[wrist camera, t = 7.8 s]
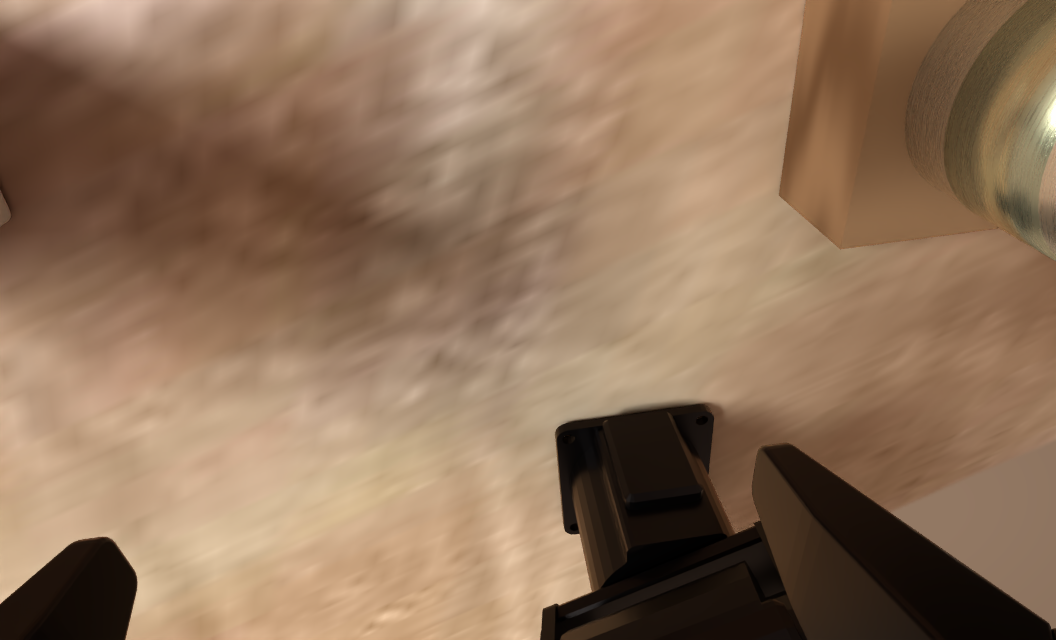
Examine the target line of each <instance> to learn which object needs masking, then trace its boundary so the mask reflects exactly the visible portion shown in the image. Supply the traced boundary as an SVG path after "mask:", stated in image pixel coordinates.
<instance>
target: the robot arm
mask: <svg viewBox="0 0 1056 640" xmlns="http://www.w3.org/2000/svg"><path fill="white" fill-rule="evenodd" d="M700 416H703V417H702V418H699V419H697V418H698V417H700ZM713 423H714V417H713V414H712V412H711V410H710V408H709V407H708V406H705V405H695V406H688V407H681V408H673V409H666V410H659V411H652V412H645V413H638V414H631V415H623V416H616V417H609V418H602V419H595V420H588V421H581V422H574V423H566V424H563V425H561V426H559V427H558V428H557V430H556V432H555V439H556V450H557V461H558V472H559V483H560V494H561V505H562V516H563V524H564V529H565V531H566V532H567V533H569V534H580V537H581V542H582V547H583V551H584V556H585V561H586V566H587V571H588V575H589V580H590V585H591V590H592V592H591V593H588V594H586V595H583V596H581V597H578V598H576V599H573V600H571V601H568V602H566V603H563V604H561V605H558V604H554V605H552V606H549V607H547V608H544V609H543V613H542V630H541V637H540V640H1056V628H1054V629H1051V626H1050V624H1049V623H1048V622H1047V621H1045V620H1044V619H1042V618H1041V617H1039V616H1038V615H1037V614H1035V613H1034V612H1032V611H1031V610H1029V609H1028V608H1026V607H1025V606H1023V605H1022V604H1021V603H1019V602H1018V601H1016V600H1015V599H1013V598H1012V597H1011V596H1009V595H1008V594H1006V593H1005V592H1003V591H1002V590H1001V589H999V588H998V587H996V586H995V585H993V584H992V583H991V582H989V581H988V580H986V579H985V578H983V577H982V576H980V575H979V574H978V573H976V572H975V571H973V570H972V569H970V568H969V567H968V566H966V565H965V564H963V563H962V562H960V561H959V560H957V559H956V558H954V557H953V556H952V555H950V554H949V553H947V552H946V551H944V550H943V549H942V548H940V547H939V546H937V545H936V544H934V543H933V542H932V541H930V540H929V539H927V538H926V537H924V536H923V535H922V534H920V533H919V532H917V531H916V530H914V529H913V528H911V527H910V526H909V525H907V524H906V523H904V522H903V521H901V520H900V519H899V518H897V517H896V516H894V515H893V514H891V513H890V512H888V511H887V510H886V509H884V508H883V507H881V506H880V505H878V504H877V503H876V502H874V501H873V500H871V499H870V498H868V497H867V496H865V495H864V494H863V493H861V492H860V491H858V490H857V489H855V488H854V487H853V486H851V485H850V484H848V483H847V482H845V481H844V480H842V479H841V478H840V477H838V476H837V475H835V474H834V473H832V472H831V471H830V470H828V469H827V468H825V467H824V466H822V465H821V464H819V463H818V462H817V461H815V460H814V459H812V458H811V457H809V456H808V455H807V454H805V453H804V452H802V451H801V450H799V449H798V448H796V447H795V446H793V445H791V444H789V443H779V444H772V445H765V446H762V447H761V448H760V449H759V450H758V453H757V457H756V463H755V469H754V475H753V481H752V495H753V499H754V503H755V506H756V509H757V511H758V514H759V517H760V520H761V521H758V522H756V523H754V525H755V526H753V527H751V528H748V529H746V530H743V531H741V532H738V533H736V534H735V533H734V530H733V528H732V526H731V524H730V522H729V519H728V517H727V515H726V513H725V511H724V508H723V506H722V504H721V502H720V500H719V498H718V495H717V493H716V491H715V489H714V487H713V484H712V482H711V480H710V478H709V476H708V473H709V463H710V453H711V443H712V433H713ZM566 435H571V436H569V437H564V436H566ZM136 592H137V576H136V573H135V571H134V569H133V567H132V566H131V565H130V563H129V562H128V560H127V559H126V557H125V556H124V555H123V553H122V552H121V550H120V549H119V547H118V546H117V545H116V543H115V542H114V541H113V540H112V539H110V538H108V537H97V538H89V539H82V540H78V541H75V542H73V543H71V544H70V545H69V546H67V547H66V548H65V549H64V550H63V551H61V552H60V553H59V554H58V555H57V556H56V557H54V558H53V559H52V560H51V561H50V562H49V563H47V564H46V565H45V566H44V567H43V568H42V569H40V570H39V571H38V572H37V573H36V574H35V575H33V576H32V577H31V578H30V579H29V580H28V581H26V582H25V583H24V584H23V585H22V586H21V587H19V588H18V589H17V590H16V591H15V592H14V593H12V594H11V595H10V596H9V597H8V598H7V599H5V600H4V601H3V602H2V603H1V604H0V640H125V639H126V635H127V631H128V626H129V622H130V618H131V613H132V609H133V605H134V600H135V596H136Z"/></svg>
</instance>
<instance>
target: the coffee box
mask: <svg viewBox="0 0 1056 640" xmlns="http://www.w3.org/2000/svg"><path fill="white" fill-rule="evenodd" d="M10 218H11V214H10V210H9V207H8V205H7V203H6V201H5V199H4V197H3V195H2V192H1V190H0V227H1V226H2V225H3V224H5V223H7V222H8V221H9V219H10Z"/></svg>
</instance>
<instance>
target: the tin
mask: <svg viewBox="0 0 1056 640" xmlns="http://www.w3.org/2000/svg"><path fill="white" fill-rule="evenodd" d="M905 140H906V146H907V150H908V154H909V157H910V159H911V162H912V164H913V166H914V168H915V169H916V171H917V172H918V173H919V175H920V176H921V177H922V178H923V179H924V180H925V181H926V182H927V183H928V184H929V185H931V186H932V187H934V188H935V189H937V190H939V191H940V192H942V193H944V194H946V195H947V196H949V197H951V198H952V199H954V200H956V201H958V202H959V203H961V204H963V205H964V206H965V207H966V208H967V209H968V210H970V211H971V212H973V213H974V214H976V215H977V216H979V217H981V218H982V219H984V220H986V221H988V222H989V223H991V224H993V225H994V226H996V227H998V228H1000V229H1001V230H1003V231H1005V232H1006V233H1008V234H1010V235H1012V236H1013V237H1015V238H1017V239H1018V240H1020V241H1022V242H1024V243H1025V244H1027V245H1029V246H1030V247H1032V248H1034V249H1036V250H1037V251H1039V252H1041V253H1042V254H1044V255H1046V256H1048V257H1049V258H1051V259H1053V260H1054V261H1056V0H968V1H967V2H966V3H965V4H964V5H963V6H962V7H961V8H960V9H959V10H958V11H957V12H956V13H955V14H954V15H953V16H952V18H951V19H950V20H949V22H948V23H947V24H946V25H945V27H944V28H943V29H942V30H941V32H940V33H939V35H938V36H937V38H936V39H935V41H934V42H933V44H932V45H931V47H930V48H929V50H928V52H927V54H926V56H925V57H924V59H923V61H922V63H921V65H920V67H919V70H918V72H917V74H916V77H915V79H914V82H913V84H912V88H911V91H910V94H909V98H908V103H907V108H906V114H905Z"/></svg>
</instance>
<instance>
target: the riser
mask: <svg viewBox="0 0 1056 640" xmlns="http://www.w3.org/2000/svg"><path fill="white" fill-rule="evenodd" d="M967 1H968V0H806V5H805V12H804V19H803V26H802V34H801V41H800V48H799V55H798V62H797V69H796V77H795V84H794V91H793V98H792V105H791V112H790V120H789V127H788V134H787V141H786V148H785V155H784V163H783V170H782V177H781V184H780V191H779V196H780V197H781V198H782V199H784V200H785V201H786V202H787V203H788V204H789V205H790V206H792V207H793V208H794V209H795V210H796V211H797V212H798V213H800V214H801V215H802V216H803V217H804V218H805V219H806V220H808V221H809V222H810V223H811V224H812V225H813V226H814V227H816V228H817V229H818V230H819V231H820V232H821V233H823V234H824V235H825V236H826V237H827V238H828V239H829V240H831V241H832V242H833V243H834V244H835V245H836V246H837V247H839V248H840V249H845V248H853V247H861V246H868V245H876V244H883V243H891V242H899V241H906V240H914V239H921V238H929V237H936V236H944V235H952V234H959V233H967V232H974V231H982V230H990V229H997V228H998V227H996V226H994V225H993V224H991V223H989V222H988V221H986V220H984V219H982V218H981V217H979V216H977V215H976V214H974V213H973V212H971V211H970V210H968V209H967V208H966V207H965V206H964V205H963V204H961V203H959V202H958V201H956V200H954V199H952V198H951V197H949V196H947V195H946V194H944V193H942V192H940V191H939V190H937V189H935V188H934V187H932V186H931V185H929V184H928V183H927V182H926V181H925V180H924V179H923V178H922V177H921V176H920V175H919V173H918V172H917V171H916V169H915V168H914V166H913V164H912V162H911V159H910V157H909V154H908V150H907V146H906V140H905V114H906V108H907V103H908V98H909V94H910V91H911V88H912V84H913V82H914V79H915V77H916V74H917V72H918V70H919V67H920V65H921V63H922V61H923V59H924V57H925V56H926V54H927V52H928V50H929V48H930V47H931V45H932V44H933V42H934V41H935V39H936V38H937V36H938V35H939V33H940V32H941V30H942V29H943V28H944V27H945V25H946V24H947V23H948V22H949V20H950V19H951V18H952V16H953V15H954V14H955V13H956V12H957V11H958V10H959V9H960V8H961V7H962V6H963V5H964V4H965V3H966V2H967Z"/></svg>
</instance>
